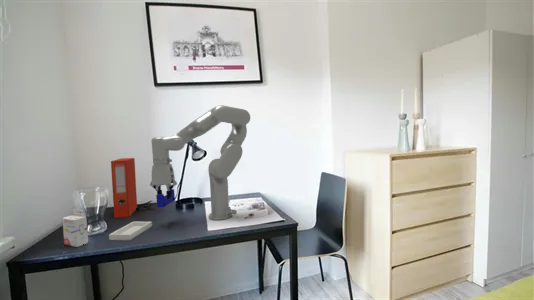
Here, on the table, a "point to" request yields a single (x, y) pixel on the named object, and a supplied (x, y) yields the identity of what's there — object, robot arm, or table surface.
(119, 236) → the tray
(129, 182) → the file binder
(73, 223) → the ink cartridge box
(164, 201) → the cable clip
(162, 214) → the table surface
